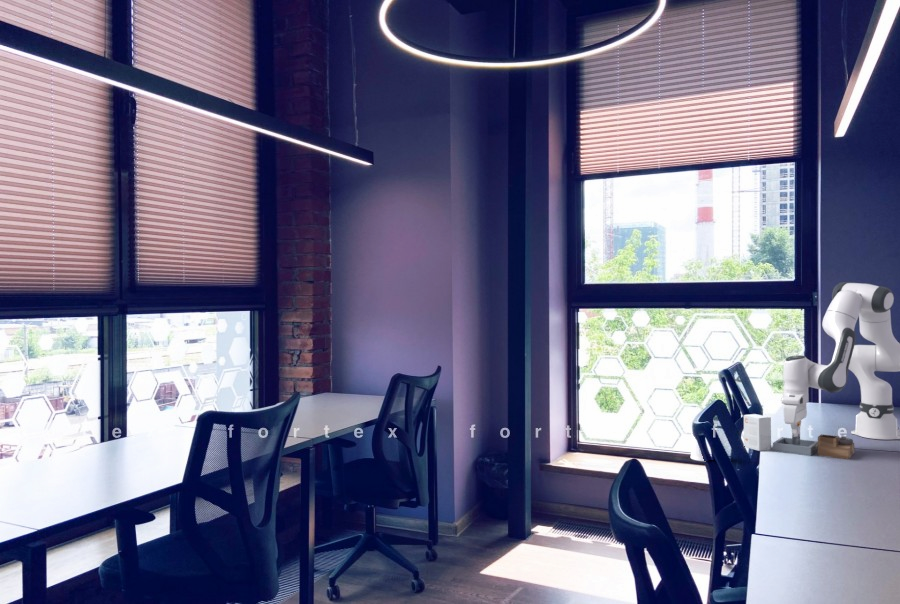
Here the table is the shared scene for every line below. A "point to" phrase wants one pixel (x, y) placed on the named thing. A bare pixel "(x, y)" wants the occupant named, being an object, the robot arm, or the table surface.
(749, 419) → the small box
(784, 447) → the tray
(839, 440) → the wooden holder block
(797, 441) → the lock pin
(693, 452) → the mug
